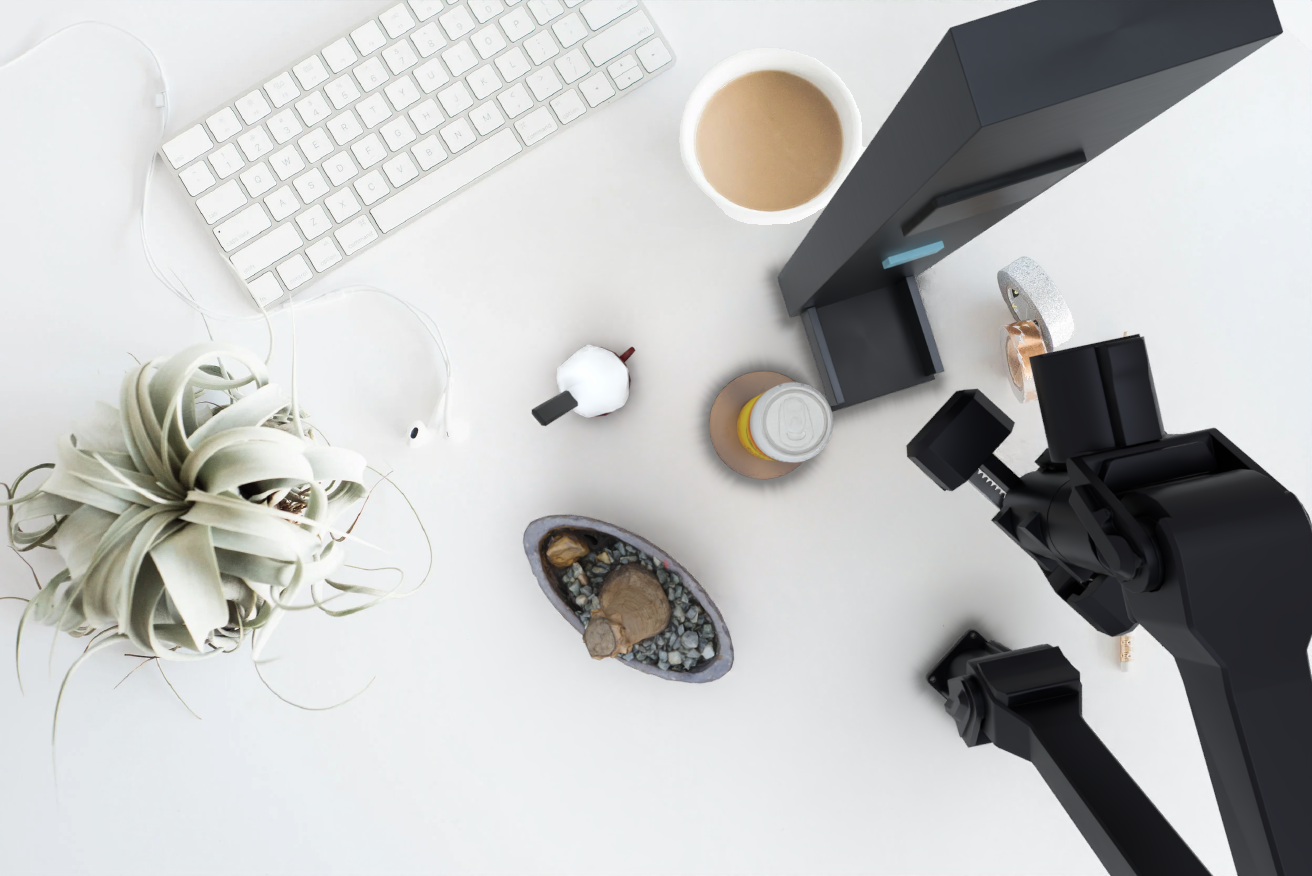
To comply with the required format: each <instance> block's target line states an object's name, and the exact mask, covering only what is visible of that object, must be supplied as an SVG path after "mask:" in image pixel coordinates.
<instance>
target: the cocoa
mask: <svg viewBox="0 0 1312 876" xmlns="http://www.w3.org/2000/svg"><path fill="white" fill-rule="evenodd" d="M636 350H637V349H636V348H635V347H634V346H630V347H629V348H628V349H626V350H625V351H624V352H623V353H622V354H620V355H619V354H618V353H617V352H615V351H612V350H610V349H608V348H605V347H603V346H595V345H591V344H586V345H584V346H583V347H581V348H579V349H577V351H576V352H574V353H573V354H572V355H571V356H570V357H569V358H568V359H566V360H565V361H564V362H563V363H562V364H561V365H559V366H558V367H557V368H556V383H557V386H558V391H559V394H557V395H555V396H553V397H551V398H550V399H548V400H546V401H544V402H543V403H540V404H539V405H537V406H535V407H533V408H531V415H532V416H533V418H534V419H535V420H536V421H537V423H539V425H540V426H542V427H547V426H548V425H550V424H552V423H553V422H554V421H556V420H558V419H559V418H561V417H563V416H564V415H566V414H568V413H569V412H571V411H572V412H575V413H576V414H577V415H580V416H582V417H584V418H588V419H589V418H594V417H595V418H596V417H606V416H607V415H608V416H609V415H610V414H612V413H613V412H615V411H617V410H619V409H621V408H622V407H624V406H625V404H626V403H627V401H628V399H629V398H630V388H631V383H632V378H631V376H630V371H629V369H628V365H627V364H626V362H627V361H628V360H629V359H630V358H631V357H632V356H633V354H634V353H635V352H636Z"/></svg>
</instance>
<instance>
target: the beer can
mask: <svg viewBox="0 0 1312 876" xmlns="http://www.w3.org/2000/svg"><path fill="white" fill-rule="evenodd" d="M833 429H834V415H833V412H832V411H831V408H830V406H829V404H828V401H827V398H826V396H824V395H823V394H822V393H821V392H820V391H819V390H818V389H816V388H814V387H813V386H811V385H809V384H806V383H803V382H797V381H795V382H789V383H783V384H780V385H777V386H775V387H773V388H771V389H769V390H768V391H766V392H764V393H762V394H760V395H758V396H756V397H754V398H753V399H751V400H750V401H749V402H747V403H746V404H745V406H744V407H743V408H742V410H741V412H740V414H739V417H738V420H737V433H738V437H739V440H740V442H741V443H742V445H743V447H744V448H745V449H746V450H747V451H748V452H749V453H751V454H752V455H754V456H755V457H758V458H761V459H765V460H773V461H782V462H802V461H803V462H805V461H808V460H811V459H813V458H814V457H816V456H817V455H819V454H820V453H821V452H822V451H823V450H824V449H825V448H826V447H827V445H828V443H829V441H830V439H831V437H832V434H833ZM803 462H802V463H803Z"/></svg>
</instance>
